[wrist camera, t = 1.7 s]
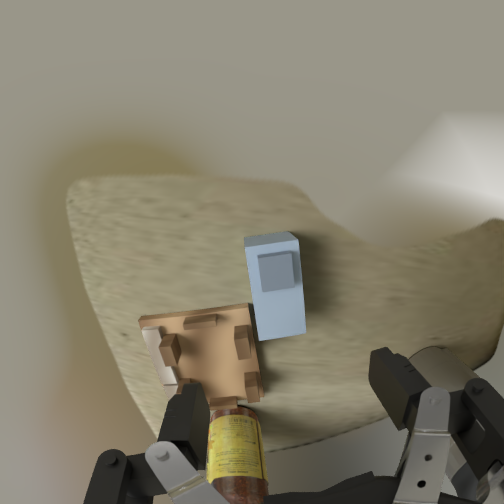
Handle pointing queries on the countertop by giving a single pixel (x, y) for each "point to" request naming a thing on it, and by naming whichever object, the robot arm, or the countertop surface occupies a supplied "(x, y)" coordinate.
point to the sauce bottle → (237, 456)
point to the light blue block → (276, 284)
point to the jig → (206, 353)
